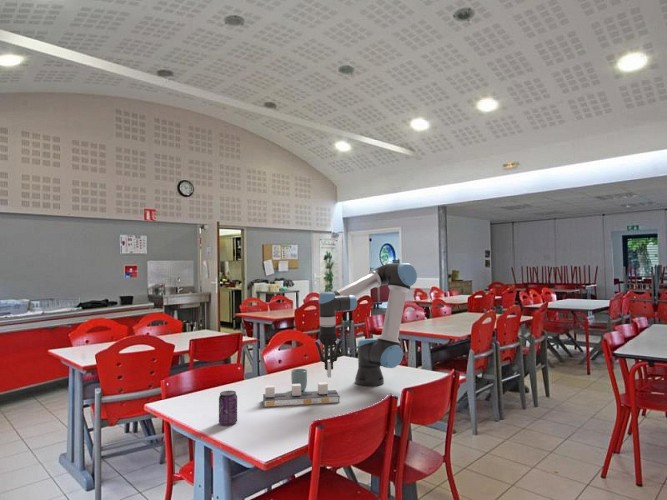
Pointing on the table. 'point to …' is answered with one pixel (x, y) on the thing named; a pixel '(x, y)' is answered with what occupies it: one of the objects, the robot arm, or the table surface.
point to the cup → (299, 377)
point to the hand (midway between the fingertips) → (329, 376)
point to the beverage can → (228, 407)
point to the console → (300, 399)
